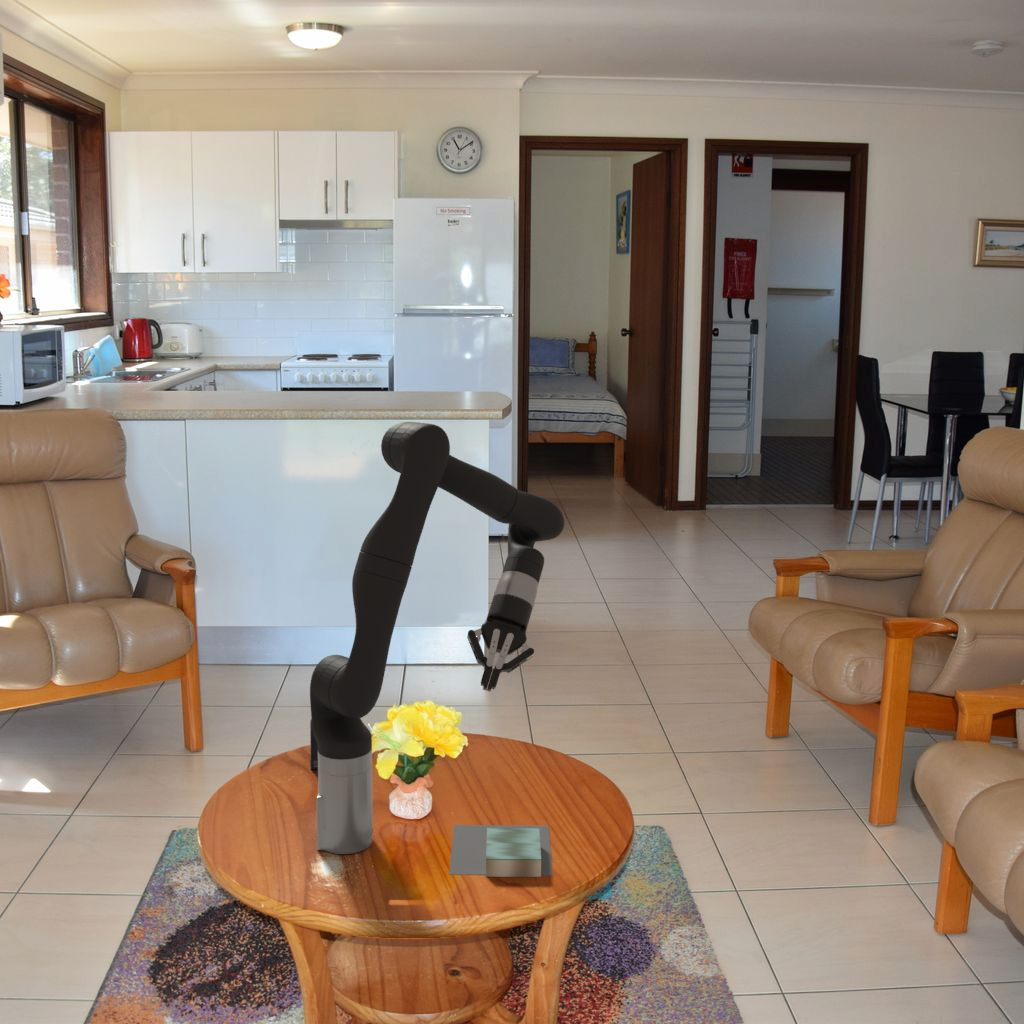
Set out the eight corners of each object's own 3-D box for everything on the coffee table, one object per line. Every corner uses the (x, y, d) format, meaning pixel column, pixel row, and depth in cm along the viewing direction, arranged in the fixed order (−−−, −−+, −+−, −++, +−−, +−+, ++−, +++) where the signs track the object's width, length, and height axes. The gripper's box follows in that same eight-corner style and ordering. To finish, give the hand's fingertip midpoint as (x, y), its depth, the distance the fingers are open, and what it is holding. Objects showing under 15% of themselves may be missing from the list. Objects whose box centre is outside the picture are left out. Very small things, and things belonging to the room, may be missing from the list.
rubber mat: (449, 877, 191) (449, 874, 191) (454, 827, 209) (454, 824, 209) (552, 878, 191) (552, 875, 191) (548, 828, 209) (548, 825, 209)
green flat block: (486, 844, 201) (485, 876, 190) (487, 828, 201) (486, 858, 190) (538, 845, 201) (540, 876, 191) (539, 828, 201) (541, 859, 190)
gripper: (480, 583, 210) (452, 672, 203) (550, 604, 209) (525, 694, 202) (477, 597, 217) (450, 684, 209) (545, 618, 216) (520, 705, 209)
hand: (487, 689), depth 206 cm, fingers closed
